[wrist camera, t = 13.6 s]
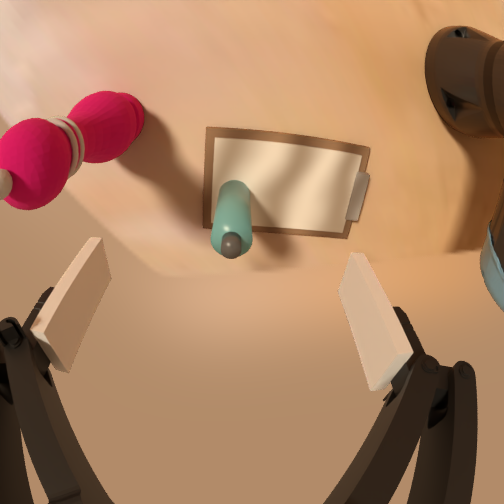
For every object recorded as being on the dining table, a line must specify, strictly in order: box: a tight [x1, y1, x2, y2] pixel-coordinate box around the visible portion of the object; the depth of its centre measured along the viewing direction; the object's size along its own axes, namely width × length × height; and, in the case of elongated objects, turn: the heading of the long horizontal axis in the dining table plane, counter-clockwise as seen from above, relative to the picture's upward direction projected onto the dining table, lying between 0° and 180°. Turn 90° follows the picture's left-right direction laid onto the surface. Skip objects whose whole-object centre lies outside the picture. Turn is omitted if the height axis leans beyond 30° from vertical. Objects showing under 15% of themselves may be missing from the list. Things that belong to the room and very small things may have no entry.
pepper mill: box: [0, 91, 144, 210], centre depth 18 cm, size 7×7×20 cm
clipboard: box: [203, 127, 370, 239], centre depth 31 cm, size 18×12×1 cm, turn 84°
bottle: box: [211, 180, 252, 259], centre depth 27 cm, size 3×3×11 cm
